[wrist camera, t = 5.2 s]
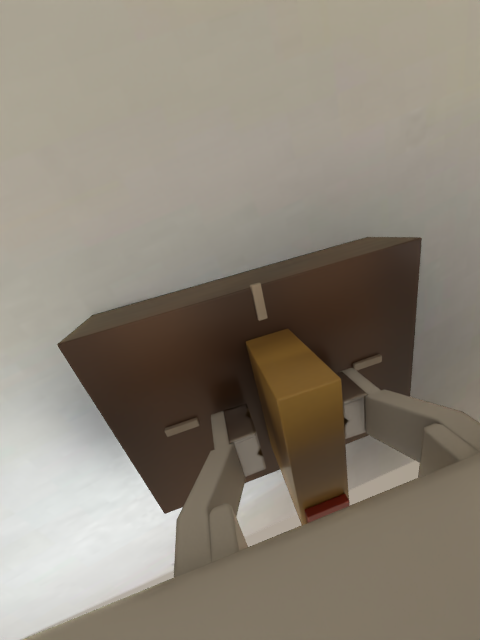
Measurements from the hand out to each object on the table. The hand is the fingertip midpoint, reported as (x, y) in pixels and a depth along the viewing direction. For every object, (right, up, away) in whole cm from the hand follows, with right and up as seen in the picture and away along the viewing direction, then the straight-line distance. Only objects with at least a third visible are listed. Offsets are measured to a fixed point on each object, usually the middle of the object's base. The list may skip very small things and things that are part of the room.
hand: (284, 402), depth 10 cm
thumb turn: (0, 0, +1) cm, 1 cm away
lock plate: (-1, +1, +3) cm, 4 cm away
